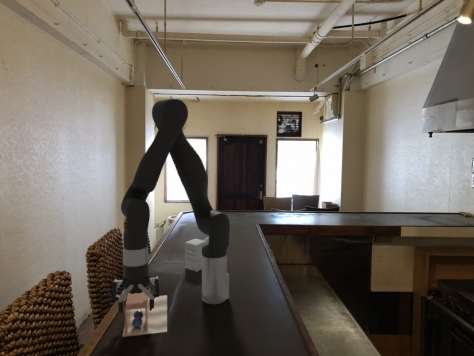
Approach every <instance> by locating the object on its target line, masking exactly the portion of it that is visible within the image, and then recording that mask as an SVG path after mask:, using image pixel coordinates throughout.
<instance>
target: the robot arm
mask: <svg viewBox="0 0 474 356" xmlns="http://www.w3.org/2000/svg"><path fill="white" fill-rule="evenodd" d="M151 117H152V120H153V122H154V124H155V126H156V128H157V133H156V135H155V136H154V138H153V141H152V142H151V144H150V145H149V147H148V148H147V150H146V151H145V153H144V154H143V156H142V158H141V159H140V161H139V164H138V165H137V166H138V167H137V169H136V172H135V174H134V177H133V180H132V182H131V184H130V186H129V187H128V189H127V191H126V192H125V194H124V196H123V198H122V201H121V205H120V211H121V213H122V215H123V216H124V217H126V227H125V228H126V229H124V231H123V250H122V276H123V278H122V279H117V278H115V279H113V281H112V284H111V285H112V287H111V301H113V302H114V301H115V302H118V306H117V307H118V312H119V313H120V314H125V298H126V297H128V293H131V294H135V293H142V292H144V293H145V295H147V296H148V297H149V298H150V299H149V310H150V311H152V309H153V308H154V298H156V297H159V296H161V289H160V278H159V275H156V276H155V277H150V276H149V273H150V272H149V271H150V270H149V248H148V229H149V224H150V218H151V210H150V205H149V203H148V202H147V199H148V197H149V196H150V193H152V192H153V191H155V189H156V186H157V185H158V181H159V179H160V176H161V173H162V171H163V168H164V166H165V163H166V161H167V159H168V156H169V155H170V158H171V160H172V162H173V165H174V168H175V171H176V173H177V176H178V178H179V180H180V182H181V185H182V186H183V189H184V191H185V195H187V198H188V200H189V203H190V205H191V208H192V212H193V216H194V219H195V223H196V225H197V227H198V230H199V231H200V232H201V233H202V234H204V235H207V236H208V235H209V243H208V244H206V245H204V246H203V247H202V269H201V300H202V302H204V303H205V304H209V305H219V304H223V303H224V302H226V301H227V300H228V299H230V274H229V273H228V269H227V268H228V257H227V255H228V248H229V245H230V231H231V228H230V227H231V224H230V223H231V222H230V218H229V216H228V215H227V214H226V213H224V212H221V211H218V210H215V209H214V208H213V207H212V205H211V202H210V200H209V198H208V197H209V196H208V185H209V184H208V183H209V179H208V177H209V176H208V173H207V171H206V168H205V165H204V162H203V161H202V158H201V157H200V155H199V154H198V152H197V150H195V148H194V147H193V146H192V144H191V143H190V142H189V141H188V139H187V138H186V135H185V134H184V133H185V132H184V131H183V128H184V127H185V125H186V122H187V121H188V117H189V109H188V106H187V105H186V103H185V102H184V101H183V100H181V99H179V98H175V97H173V98H165V99H161V100H158V101H156V102H155V103H154V104H153V106H152V109H151ZM150 283H151V284H152V286H154V289H155V291H152V289H151V288H150V286H149V285H150ZM120 286H122V287H123V288H124V289H123V291H122V292H121V293H120V295H119V294H118V289H120Z"/></svg>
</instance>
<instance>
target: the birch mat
mask: <svg viewBox="0 0 474 356" xmlns="http://www.w3.org/2000/svg"><path fill="white" fill-rule="evenodd" d="M149 299H150V298H149ZM137 310H141V311H142V312H143V318H142V325H141V326H140V327H139V328H135V327H133V325H132V322H133V320H134V313H135V312H136V311H137ZM159 333H168V295H160V296H159V297H156V298H154V308H153V309H152V311H150V310H149V322H148V331H146V317H145V308H142V309H132V310H131V318H130V323H129V327H128V332H127V334H126V333H125V325H124V327H123V331H122V335H121V337H122V338H125V337H134V336H142V335H150V334H151V335H152V334H159Z"/></svg>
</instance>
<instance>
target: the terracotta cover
mask: <svg viewBox="0 0 474 356" xmlns="http://www.w3.org/2000/svg"><path fill="white" fill-rule="evenodd" d="M126 297H127V298H126V300H125V301H126V302H125V304H124V326H125V333H126V334H127V332H128V327H129V323H130V318H131V310H132V309H142V308H145V317H146V331H148V322H149V297H148V296H147V295H145V293H144V292H142V293H135V294H131V293H128V294H127V296H126Z"/></svg>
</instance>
